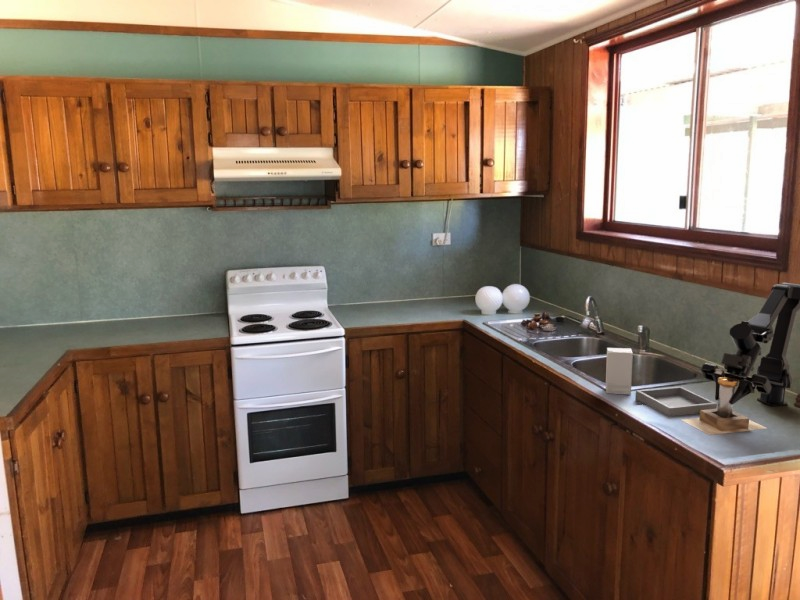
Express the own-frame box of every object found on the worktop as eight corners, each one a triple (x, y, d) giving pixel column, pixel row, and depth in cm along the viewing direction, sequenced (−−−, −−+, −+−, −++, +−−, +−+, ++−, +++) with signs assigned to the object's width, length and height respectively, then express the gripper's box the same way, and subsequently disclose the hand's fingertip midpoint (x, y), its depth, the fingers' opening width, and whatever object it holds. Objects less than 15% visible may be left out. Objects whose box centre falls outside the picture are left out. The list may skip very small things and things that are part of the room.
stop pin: (724, 418, 200) (729, 376, 198) (737, 424, 195) (742, 381, 193) (710, 419, 199) (714, 377, 196) (722, 426, 194) (727, 383, 191)
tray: (679, 396, 224) (680, 386, 223) (715, 414, 208) (716, 403, 207) (635, 400, 219) (636, 390, 219) (668, 419, 203) (669, 408, 203)
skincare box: (629, 390, 230) (632, 348, 227) (631, 395, 224) (634, 352, 221) (604, 388, 232) (606, 346, 229) (604, 393, 226) (607, 350, 223)
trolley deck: (736, 416, 205) (737, 404, 205) (766, 431, 194) (768, 418, 193) (680, 422, 200) (681, 410, 199) (708, 438, 189) (709, 424, 188)
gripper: (706, 336, 202) (684, 379, 197) (771, 349, 188) (749, 395, 183) (716, 357, 208) (695, 398, 204) (780, 371, 194) (759, 416, 189)
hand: (723, 401), depth 195 cm, fingers closed on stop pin, 4 cm apart
